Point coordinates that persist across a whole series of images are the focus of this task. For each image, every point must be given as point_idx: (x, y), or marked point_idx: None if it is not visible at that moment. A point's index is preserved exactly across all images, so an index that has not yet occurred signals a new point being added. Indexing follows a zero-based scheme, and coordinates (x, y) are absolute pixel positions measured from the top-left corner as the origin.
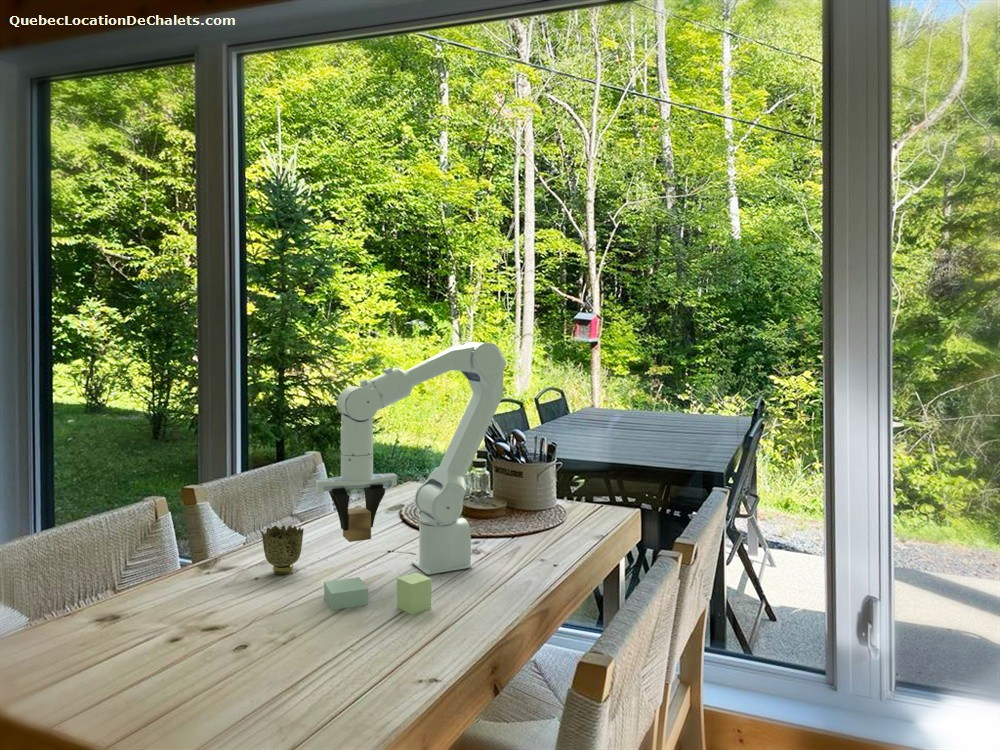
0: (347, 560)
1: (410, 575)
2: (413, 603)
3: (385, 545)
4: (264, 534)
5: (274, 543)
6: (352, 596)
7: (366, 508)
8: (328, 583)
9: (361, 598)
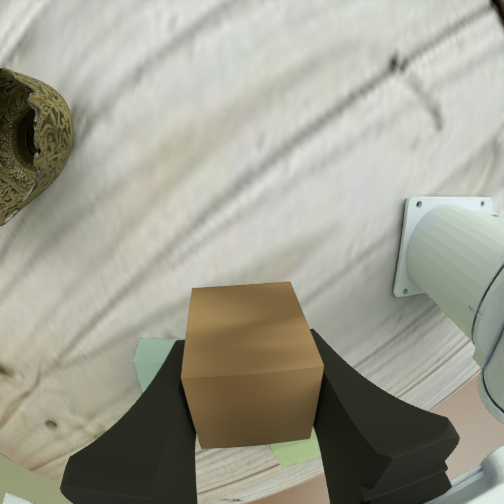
0: (252, 80)
1: (299, 446)
2: None
3: (396, 11)
4: None
5: None
6: None
7: (324, 383)
8: (142, 372)
9: None
